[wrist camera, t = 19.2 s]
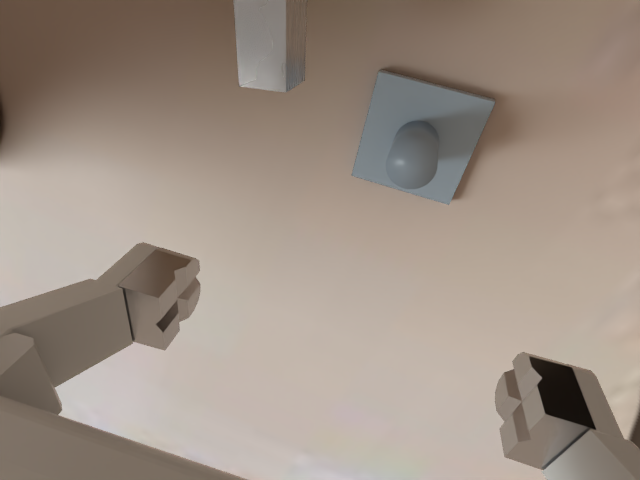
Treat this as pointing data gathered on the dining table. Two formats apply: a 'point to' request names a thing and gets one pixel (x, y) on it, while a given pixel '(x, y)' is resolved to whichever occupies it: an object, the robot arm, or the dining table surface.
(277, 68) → the lever handle
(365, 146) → the cover
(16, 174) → the dining table surface
